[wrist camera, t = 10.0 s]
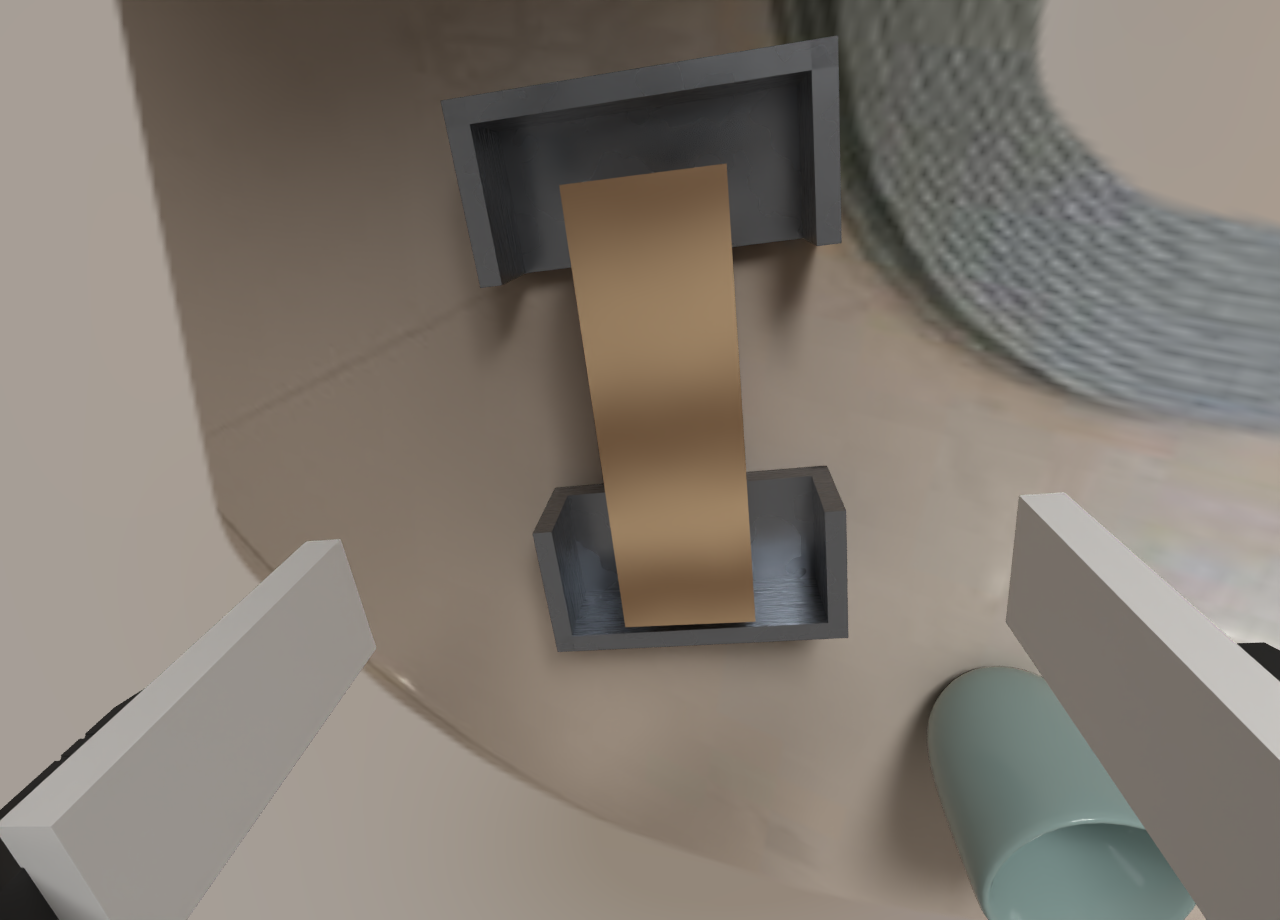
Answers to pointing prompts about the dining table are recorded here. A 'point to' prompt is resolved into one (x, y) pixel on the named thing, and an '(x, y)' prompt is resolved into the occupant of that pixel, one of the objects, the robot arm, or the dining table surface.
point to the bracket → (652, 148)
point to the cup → (1040, 808)
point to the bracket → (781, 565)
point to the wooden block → (665, 389)
